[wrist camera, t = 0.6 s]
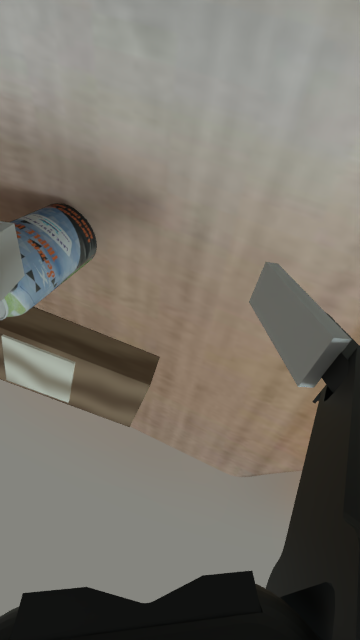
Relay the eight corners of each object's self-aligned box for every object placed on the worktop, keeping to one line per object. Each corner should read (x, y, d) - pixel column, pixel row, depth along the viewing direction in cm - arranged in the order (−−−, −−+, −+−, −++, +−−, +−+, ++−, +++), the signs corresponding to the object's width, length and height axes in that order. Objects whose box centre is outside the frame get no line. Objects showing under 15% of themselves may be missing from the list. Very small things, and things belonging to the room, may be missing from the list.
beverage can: (113, 235, 25) (40, 292, 15) (77, 277, 29) (0, 344, 19) (62, 184, 23) (-60, 212, 13) (30, 236, 27) (-83, 288, 17)
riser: (19, 301, 32) (-13, 325, 28) (159, 357, 34) (149, 387, 30) (22, 354, 39) (-4, 380, 35) (139, 399, 41) (128, 429, 36)
